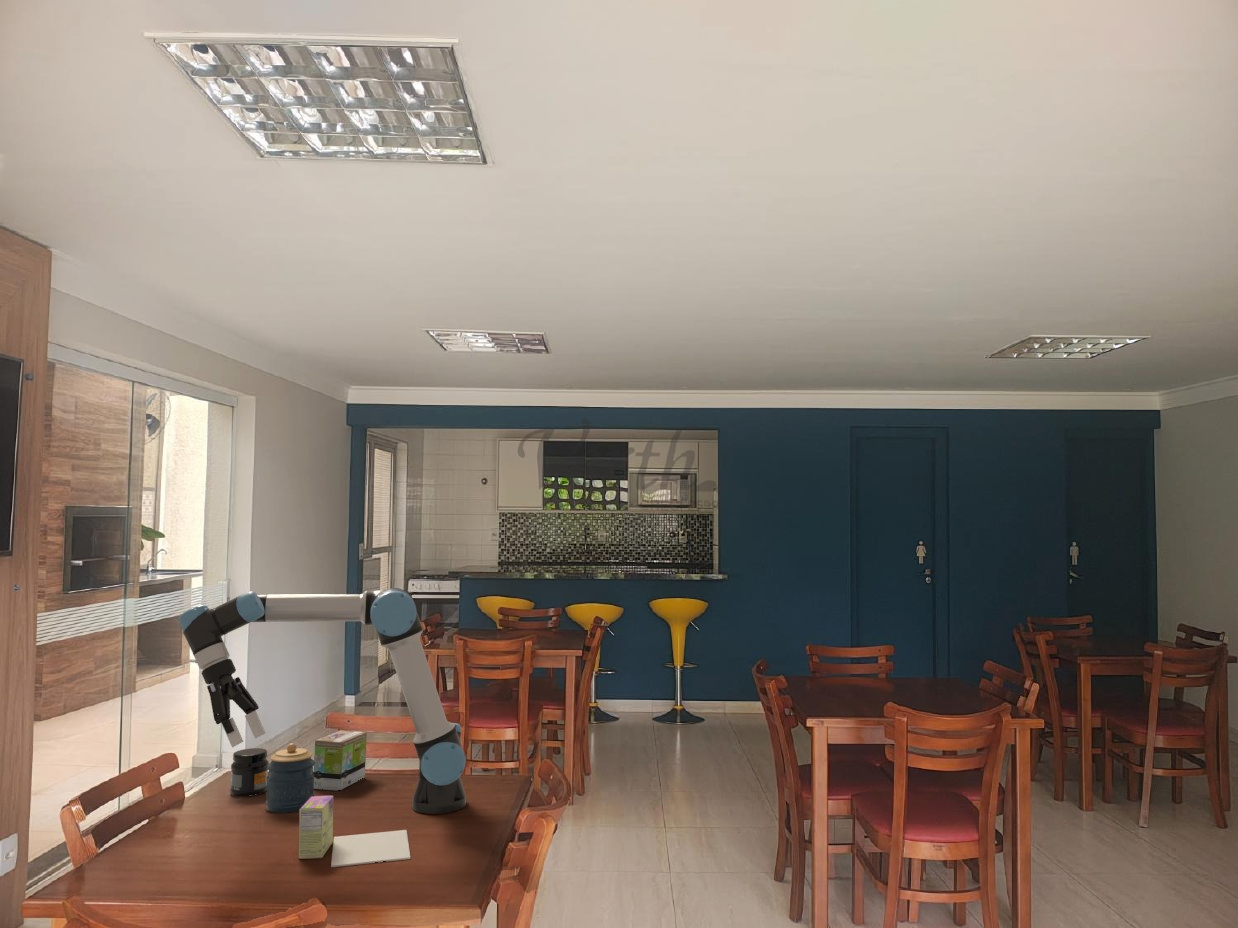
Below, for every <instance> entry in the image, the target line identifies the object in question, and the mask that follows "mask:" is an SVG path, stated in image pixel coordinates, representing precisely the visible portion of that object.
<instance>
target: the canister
mask: <svg viewBox="0 0 1238 928" xmlns="http://www.w3.org/2000/svg"><path fill="white" fill-rule="evenodd" d="M312 756H313V752H311V751H309V750H308V749H306V748H299V747H297V745H296V743H294V742H293V743H292V742H291V743H288V745H287V746H286V748H285V749H280V750H278V751H276V752H275V753H274V754H273V755H271V756H270V761H271V762H269V764H268V765H267V769H268V777H267V790H266V799H265V806H266V811H268V812H270V813H275V814H276V813H277V814H284V813H285V814H286V813H295V812H299V810H300V808H301V807H302V806H303V805H304V804H305V803H306V802H307V801H308V800H309V799H310V798H311V797H312V796H315V793H314V792H315V791H314V790H315V789H314V776H315V773H314V764H315V761H314V758H313V759H312Z"/></svg>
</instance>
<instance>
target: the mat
mask: <svg viewBox="0 0 1238 928" xmlns="http://www.w3.org/2000/svg"><path fill="white" fill-rule="evenodd" d="M410 851H411V850H410V845H409V837H408V831H407V829H401V830H391V831H390V830H389V831H381V832H370V833H361V834H360V833H359V834H350V835H340V836H333V843H332V853H331V862H330V864H331V865H330V867H331V868H340V867H349V866H357V865H358V866H359V865H367V864H375V862H378V863H384V862H383V861H386V862H394V861H402V860H403V861H404V860H405V861H406V860H411V852H410ZM386 862H385V863H386Z"/></svg>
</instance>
